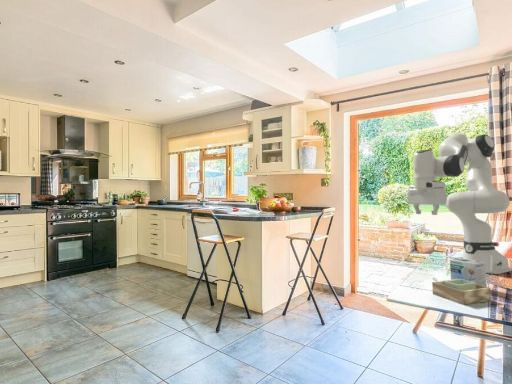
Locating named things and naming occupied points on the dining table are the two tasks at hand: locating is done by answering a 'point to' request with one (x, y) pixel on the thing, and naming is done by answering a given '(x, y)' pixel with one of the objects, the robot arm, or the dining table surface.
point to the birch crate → (462, 293)
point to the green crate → (460, 284)
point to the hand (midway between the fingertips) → (426, 214)
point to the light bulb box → (468, 270)
